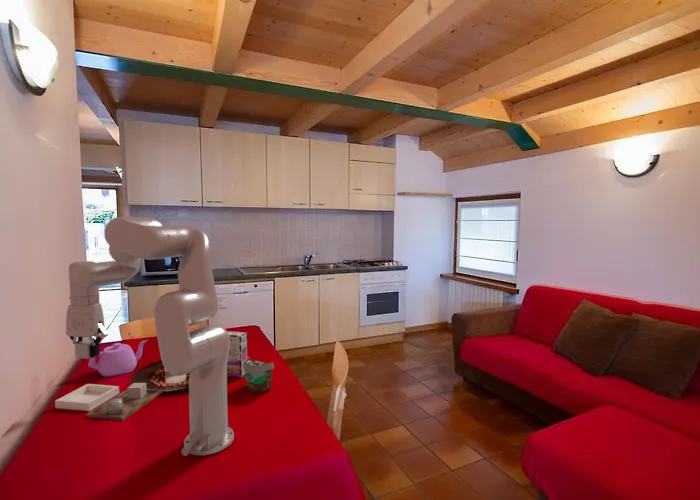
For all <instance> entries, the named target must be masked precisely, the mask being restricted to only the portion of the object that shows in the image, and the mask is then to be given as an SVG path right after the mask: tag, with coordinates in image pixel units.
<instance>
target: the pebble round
mask: <svg viewBox="0 0 700 500" xmlns="http://www.w3.org/2000/svg"><path fill="white" fill-rule="evenodd" d="M105 403H106V409H107V415H118V414H120V413H122V412H123V400H122V398H115V399H113V398H111V399H109V400H107V401H106V402H105Z"/></svg>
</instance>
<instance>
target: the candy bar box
mask: <svg viewBox="0 0 700 500" xmlns="http://www.w3.org/2000/svg"><path fill="white" fill-rule="evenodd" d="M226 331H227V333H228V335H229V338H230V351H229V356H228V362H227V377H231V378H239V379H241V378H243V377H245V376H246V373H245V369H244V368H243V364H244V361H245V359H246V358H247V357H248V335H247V334H248V333H247V332H242V331H241V332H240V331H231V330H229V331H228V330H226Z"/></svg>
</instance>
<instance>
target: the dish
mask: <svg viewBox="0 0 700 500" xmlns="http://www.w3.org/2000/svg"><path fill="white" fill-rule="evenodd" d="M119 394H120V387H119V385H118V386H117V385H109V384H107V385H106V384H94V383H86V384H84V385H83V386H81V387H78V388H77V389H75V390H72V391H71V392H69V393H67V394H65V395H64V396H61V397H60V398H58V399H55V400H54V403H55V404H54V407H55V409H59V410H60V409H61V410H69V411H70V410H72V411H84V412H91V411H93V410H95V409H96V408H98V407H100V406H101V405H103V404H104V403H106V402H107V401H109V400H111V399H113V398H114V397H116V396H118V395H119Z"/></svg>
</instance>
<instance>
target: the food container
mask: <svg viewBox="0 0 700 500" xmlns="http://www.w3.org/2000/svg"><path fill="white" fill-rule="evenodd" d="M243 368H244V369H245V373H246V375H245V382H246V389H247V391H249V392H251V393H256V394H257V393H265V392H269V391H270V390H272V384H273V383H272V382H273V381H272V380H273V371H274V369H275V364H274V362H273V361H272V362H270V363H267V362H265V361H262V360H254V359H251V358H250V356H247V358H246V359H245V361H244V364H243Z"/></svg>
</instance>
